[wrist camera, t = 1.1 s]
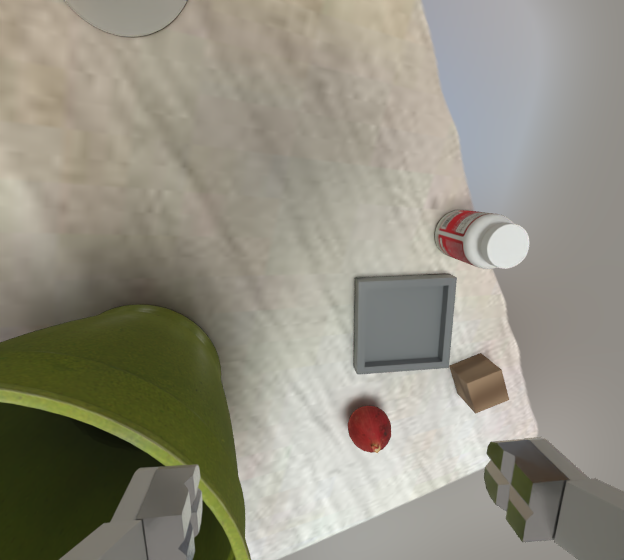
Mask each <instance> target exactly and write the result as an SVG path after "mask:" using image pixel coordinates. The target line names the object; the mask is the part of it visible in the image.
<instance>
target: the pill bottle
mask: <svg viewBox="0 0 624 560" xmlns="http://www.w3.org/2000/svg"><path fill="white" fill-rule="evenodd" d="M435 241H436V244H437V246H438V248H439V249H440V250H441V251H442V252H443V253H444V254H446V255H448V256H450V257H453V258H455V259H458V260H460V261H463V262H466V263H468V264H471V265H474V266H476V267H479V268H484V269H492V268H496V267H498V268H504V269H505V268H511V267H514V266H516V265H517V264H519V263H520V262H521V261H522V260H523V259H524V258H525V256H526V255H527V252H528V249H529V237H528V234H527V232H526V231H525V229H524V228H522V227H521V226H519V225H517V224H514V223H513V222H512V221H511V220H510V219H508V218H507V217H505V216H502V215H499V214H493V213H485V212H476V211H467V210H456V211H452V212H450V213H448V214H446V215H445V216H444V217H443V218H442V219H441V220H440V221H439V223H438V225H437V227H436V231H435Z"/></svg>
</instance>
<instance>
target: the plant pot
mask: <svg viewBox="0 0 624 560" xmlns="http://www.w3.org/2000/svg"><path fill="white" fill-rule="evenodd" d="M196 464H197V465H198V466H199V470H200V481H199V485H198V488H199V489H200V490H201V491H202V517H201V525H200V530H199V533H198V535H197V536H196V537H195V538H194V545H195V553H194V557H193V560H251V558H250V553H249V550H248V547H247V543H246V540H245V505H244V498H243V492H242V488H241V484H240V481H239V477H238V469H237V461H236V453H235V445H234V438H233V431H232V425H231V420H230V414H229V410H228V406H227V401H226V397H225V393H224V389H223V386H222V383H221V367H220V362H219V358H218V355H217V352H216V350H215V348H214V346H213V344H212V342H211V340H210V339H209V338H208V336H207V335H206V334H205V333H204V332H203V331H202V329H201V328H200V327H198V326H197V325H196V324H195V323H194V322H192V321H191V320H189V319H188V318H186V317H185V316H183V315H181V314H179V313H177V312H174V311H172V310H169V309H166V308H163V307H158V306H152V305H126V306H121V307H117V308H113V309H110V310H108V311H105V312H103V313H101V314H99V315H97V316H93V317H88V318H84V319H79V320H75V321H70V322H67V323H63V324H59V325H55V326H51V327H48V328H45V329H41V330H38V331H34V332H31V333H28V334H24V335H21V336H18V337H15V338H12V339H9V340H6V341H3V342H0V560H59V559H60V558H62V557H63V556H64V555H65V554H67V553H68V552H69V551H70V550H71V549H73V548H74V547H75V546H76V545H78V544H79V543H80V542H81V541H82V540H84V539H85V538H86V537H87V536H89V535H90V534H91V533H92V532H93V531H95V530H96V529H97V528H98V527H100V526H101V525H102V524H103V523H110V522H111V520H112V518H113V516H114V513H115V511H116V509H117V507H118V505H119V503H120V501H121V499H122V497H123V495H124V493H125V491H126V489H127V487H128V485H129V483H130V481H131V479H132V477H133V475H134V473H135V472H136V471H137V470H138V469H139V468H146V467H159V466H177V465H196Z"/></svg>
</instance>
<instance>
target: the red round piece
mask: <svg viewBox="0 0 624 560" xmlns="http://www.w3.org/2000/svg"><path fill="white" fill-rule="evenodd" d="M348 431H349V436H350V438H351V439H352V441H353V442H354V444H355V445H356V446H357V447H358V448H360V449H362V450H363V451H367V452H371V453H372V452H376V453H378V452H379V451H380V450H382V449H383V448H384V447H385V446H386V445H387V444H388V442H389V440H390V438H391V424H390V421H389V419H388V417H387V415H386V414H385V412H384V411H382V410H381V409H379V408H378V407H375V406H363V407H360V408H358V409H356V410H355V411H354V412H353V413H352V415H351V417H350V419H349V422H348Z"/></svg>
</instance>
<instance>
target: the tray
mask: <svg viewBox="0 0 624 560" xmlns="http://www.w3.org/2000/svg"><path fill="white" fill-rule="evenodd" d="M456 280H457V277H455V276H453V275H451V274H428V275H406V276H384V277H361V278H355V305H354V368H355V371H356V373H357V374H370V373H384V372H398V371H412V370H425V369H439V368H449V358H450V347H451V336H452V325H453V314H454V303H455V292H456Z"/></svg>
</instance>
